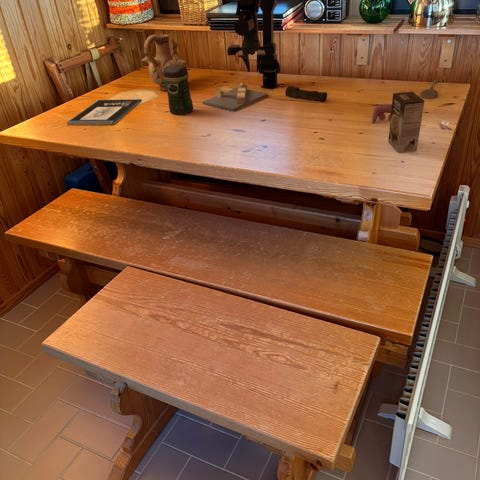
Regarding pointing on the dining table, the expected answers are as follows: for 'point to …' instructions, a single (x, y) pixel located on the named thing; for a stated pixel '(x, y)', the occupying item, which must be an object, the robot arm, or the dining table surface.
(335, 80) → the dining table surface
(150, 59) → the ceramic vessel
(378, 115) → the toy animal
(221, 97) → the keeper baseplate
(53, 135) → the dining table surface
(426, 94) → the soupspoon
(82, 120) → the sketchbook
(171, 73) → the coffee jar
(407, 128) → the coffee box
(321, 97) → the hand tool
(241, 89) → the birch latch bar
